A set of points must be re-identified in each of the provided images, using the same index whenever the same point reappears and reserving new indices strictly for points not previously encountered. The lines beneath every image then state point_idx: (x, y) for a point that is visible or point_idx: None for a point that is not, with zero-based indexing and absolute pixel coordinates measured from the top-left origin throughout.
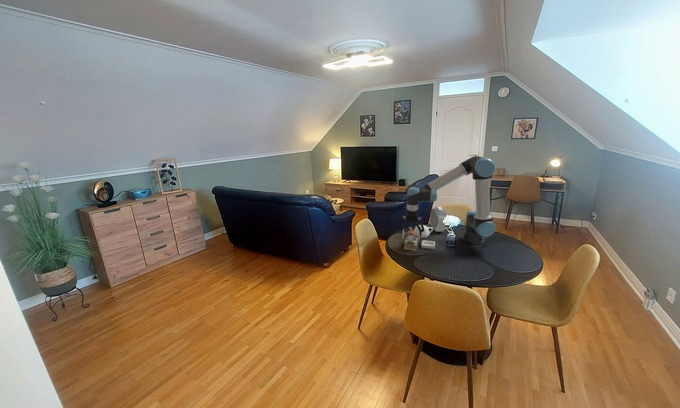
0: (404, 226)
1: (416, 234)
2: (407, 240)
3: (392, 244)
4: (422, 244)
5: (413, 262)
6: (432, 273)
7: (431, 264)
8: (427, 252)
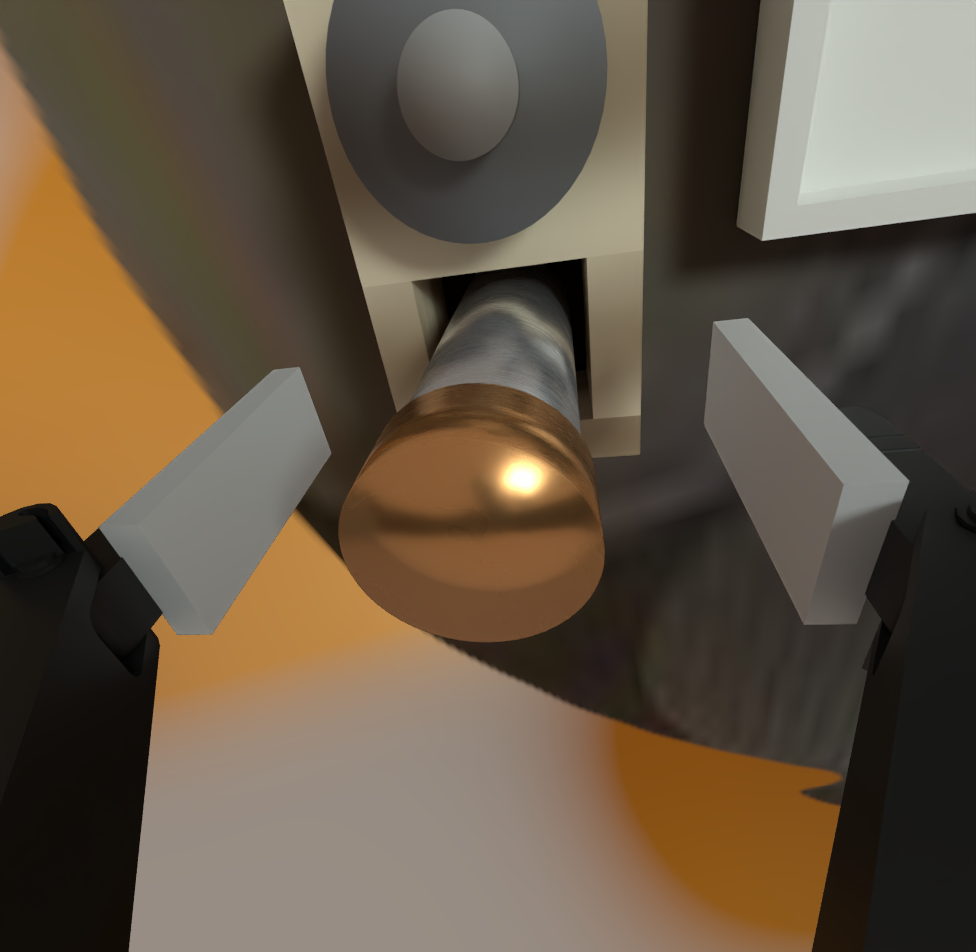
0: (119, 810)
1: None
2: (397, 247)
3: (173, 303)
4: (790, 198)
5: (636, 671)
6: (827, 767)
7: (848, 660)
8: (850, 378)
